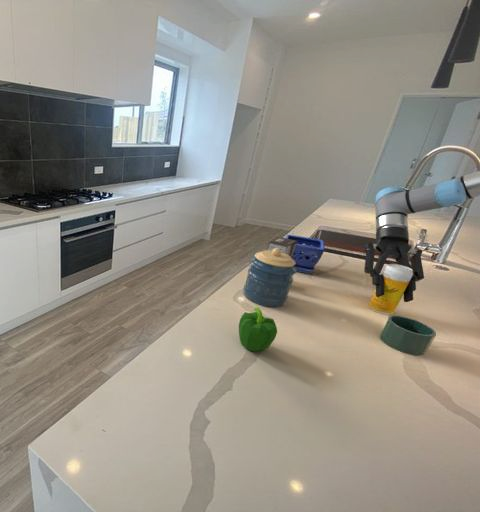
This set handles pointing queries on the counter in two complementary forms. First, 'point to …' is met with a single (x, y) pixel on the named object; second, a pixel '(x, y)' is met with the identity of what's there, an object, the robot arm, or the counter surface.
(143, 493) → the counter surface
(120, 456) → the counter surface
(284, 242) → the coffee box
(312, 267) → the flower pot
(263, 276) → the canister
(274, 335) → the bell pepper
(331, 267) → the counter surface
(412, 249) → the robot arm
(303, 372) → the counter surface
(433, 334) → the holder
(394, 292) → the yellow and white cup
